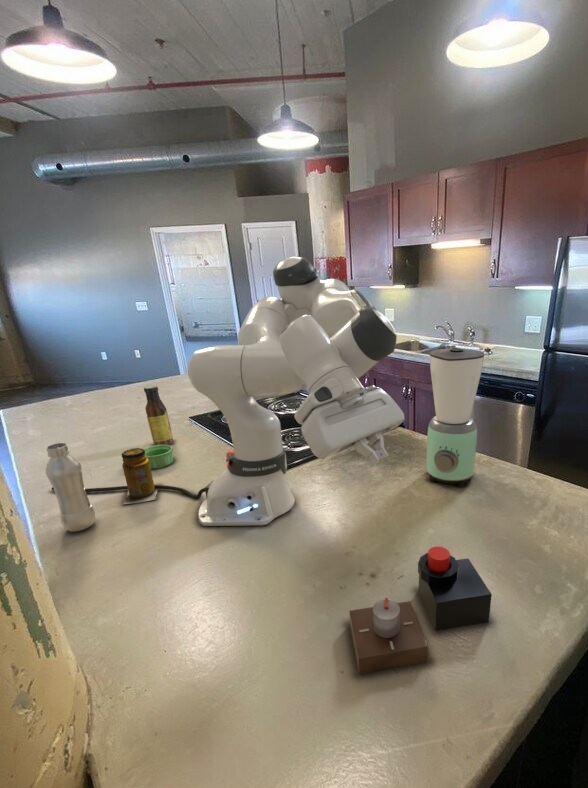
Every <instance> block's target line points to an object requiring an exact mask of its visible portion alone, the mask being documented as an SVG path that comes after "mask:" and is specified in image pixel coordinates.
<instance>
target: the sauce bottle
mask: <svg viewBox="0 0 588 788" xmlns="http://www.w3.org/2000/svg"><path fill="white" fill-rule="evenodd" d="M143 391H144V393H145V395H146V405H145V414H146V419H147V423H148V427H149V431H150V435H151V438H152V439H151V440H152V442H153V446H155V445H172V444H173V442H174V436H173V432H172V427H171V423H170V417H169V414H168V410H167V407H166V406H165V404H164V403H163V401H162V399H161V397H160V394H159V387H158V385H148V386H144V387H143Z"/></svg>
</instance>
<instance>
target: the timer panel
mask: <svg viewBox="0 0 588 788" xmlns="http://www.w3.org/2000/svg"><path fill="white" fill-rule="evenodd" d="M396 603H397V604H398V605H399V607H400V630H399V632H398V633H397V634H396V635H395V636H393V637H391V638H383V637H380V636H378V635H377V634H376V633H375V632H374V629H373V606H370V607H364V608H363V607H362V608H357V609H351V610H349V611H348V613H349V628H350V633H351V639H352V643H353V649H354V654H355V660H356V665H357V670H358V674H359V675H363V674H366V673H367V674H368V673H373V672H378V671H384V670H389V669H394V668H400V667H405V666H411V665H417V664H422V663H428V651H429V646H428V644H427V641H426V639H425V636H424V632H423V631H422V628H421V625H420V622H419V620H418V618H417V616H416V615H417V614H416V613H415V609H414V608H413V605H412V603H411V601H410V600H409V601H408V600H407V601H404V602H396Z"/></svg>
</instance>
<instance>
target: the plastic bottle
mask: <svg viewBox="0 0 588 788" xmlns="http://www.w3.org/2000/svg"><path fill="white" fill-rule="evenodd" d="M46 452H47V457H48V458H49V460H48V462H47V464H46V466H45V475H46V478H47V479H48V481H49V482H50V483H49V484H50V485H51V486H52V487H53V489H54V490H53V492H54V493H55V496H56V499H57V503H58V507H59V512H60V513H59V515H60V522H61V523H60V524H61V525H62V527H63V528H64V529H65V530H67V531H69V532H80V531H84V530H86V529H88V528H90V527H91V526H93V525H94V523H95V521H96V519H97V518H96V511H95V509H94V507H93V505H92V504H91V502H90V499H89V497H88V495H87V492H85V489H86V488H85V483H84V477H83V469H82V467H83V466H82V464H81V462H80V461H79V460H78V459H77V458H76V457H75V456H73V455H71V454H70V452H71V451H70V449H69V447H68V444H67V443H66V442H57V443H53V444H50V445H48V446H47V447H46ZM52 487H51V488H52Z"/></svg>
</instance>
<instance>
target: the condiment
mask: <svg viewBox="0 0 588 788" xmlns="http://www.w3.org/2000/svg"><path fill="white" fill-rule="evenodd" d="M144 449H145V448H141V447H135V448H130V449H126V450H124V451H123V452H122V453H121V458H122V463H121V464H122V465H121V466H122V470H123V473H124V474H123V475H124V478H125V481H126V486H127V487H128V489H127V493H126V496H125V498H124V500H123V504H122V505H131V504H138V503H144V502H150V501H155V500H156V499H157V493H158V490H159V489H154V488H155V486H154V485H155V483H154V477H153V473H152V469H150V463H149V460H148V458H146V454H145V450H144Z"/></svg>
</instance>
